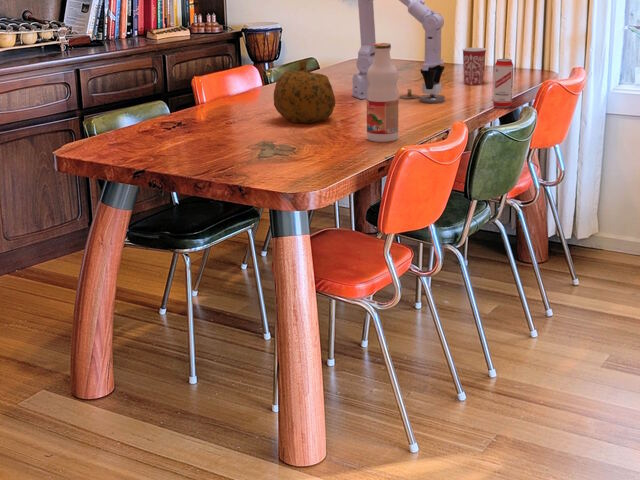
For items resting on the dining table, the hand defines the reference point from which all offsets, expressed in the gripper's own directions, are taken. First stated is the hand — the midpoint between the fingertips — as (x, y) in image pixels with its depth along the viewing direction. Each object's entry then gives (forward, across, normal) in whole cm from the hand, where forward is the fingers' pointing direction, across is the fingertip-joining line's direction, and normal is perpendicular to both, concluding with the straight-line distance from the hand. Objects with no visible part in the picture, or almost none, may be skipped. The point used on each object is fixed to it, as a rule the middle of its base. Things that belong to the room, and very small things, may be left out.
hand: (432, 87), depth 327 cm
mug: (+5, +41, -1) cm, 41 cm away
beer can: (+5, -1, -26) cm, 27 cm away
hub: (+5, 0, 0) cm, 5 cm away
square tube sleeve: (+2, 0, 0) cm, 2 cm away
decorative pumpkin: (+5, -46, +26) cm, 53 cm away
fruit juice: (+5, -61, -9) cm, 62 cm away
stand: (+5, +3, +10) cm, 12 cm away
